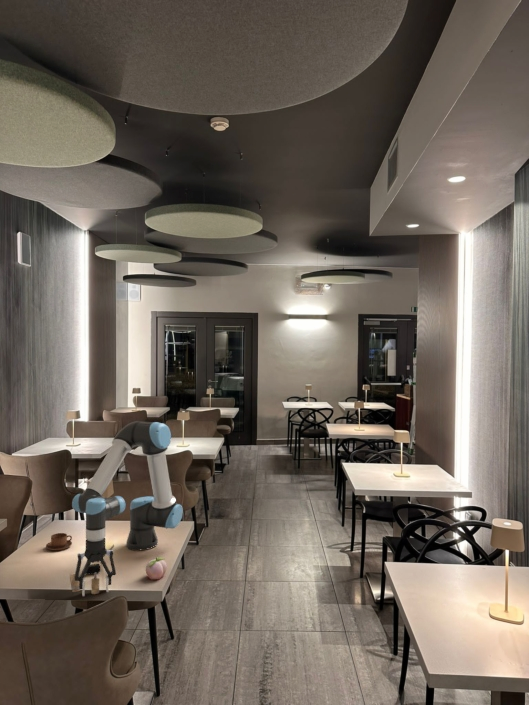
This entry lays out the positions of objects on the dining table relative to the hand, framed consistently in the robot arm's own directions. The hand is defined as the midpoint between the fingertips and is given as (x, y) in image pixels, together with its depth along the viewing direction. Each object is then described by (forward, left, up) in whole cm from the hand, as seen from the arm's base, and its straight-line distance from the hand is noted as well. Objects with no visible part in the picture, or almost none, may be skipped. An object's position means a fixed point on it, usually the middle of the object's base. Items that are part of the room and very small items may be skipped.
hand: (95, 594), depth 218 cm
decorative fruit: (-25, -5, 0) cm, 26 cm away
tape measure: (-3, -20, 0) cm, 20 cm away
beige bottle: (0, 0, 0) cm, 0 cm away
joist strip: (+7, -13, 0) cm, 15 cm away
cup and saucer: (+12, -60, -1) cm, 62 cm away
